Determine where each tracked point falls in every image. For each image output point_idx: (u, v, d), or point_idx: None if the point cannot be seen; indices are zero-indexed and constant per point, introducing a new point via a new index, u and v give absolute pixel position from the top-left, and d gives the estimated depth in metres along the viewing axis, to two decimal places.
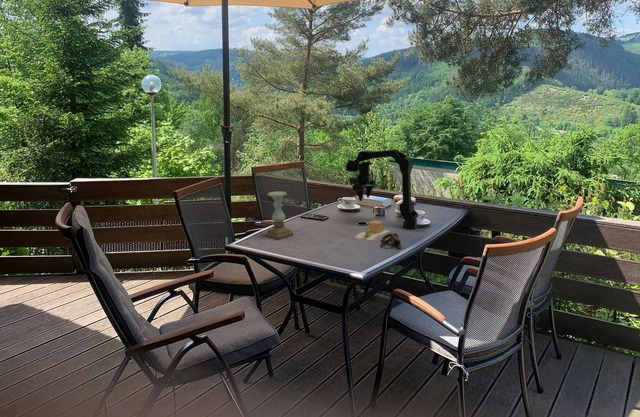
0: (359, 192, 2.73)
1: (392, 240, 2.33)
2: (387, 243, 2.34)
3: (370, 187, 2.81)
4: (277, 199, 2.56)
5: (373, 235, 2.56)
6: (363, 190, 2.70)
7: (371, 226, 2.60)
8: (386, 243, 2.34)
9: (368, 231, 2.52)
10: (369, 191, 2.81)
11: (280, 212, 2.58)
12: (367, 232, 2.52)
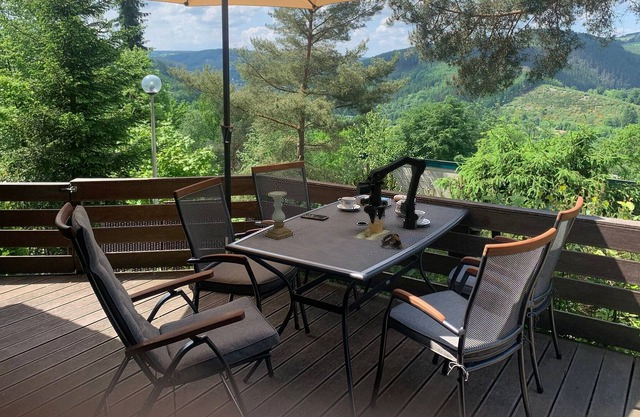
0: (371, 214, 2.55)
1: (393, 240, 2.33)
2: (388, 243, 2.33)
3: (382, 208, 2.63)
4: (277, 199, 2.56)
5: (373, 235, 2.56)
6: (375, 212, 2.52)
7: (371, 226, 2.60)
8: (387, 243, 2.33)
9: (368, 231, 2.52)
10: (381, 212, 2.64)
11: (280, 212, 2.58)
12: (367, 232, 2.52)
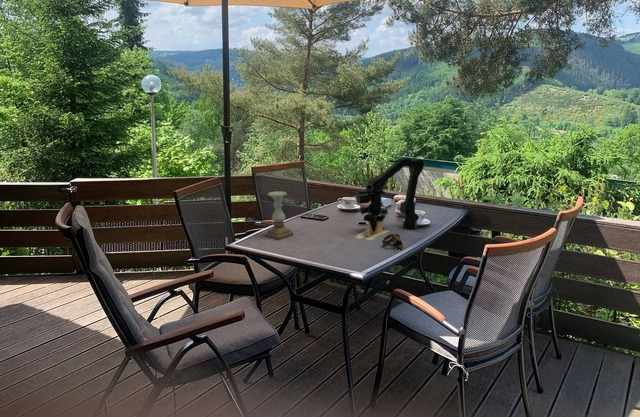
0: (372, 222, 2.58)
1: (394, 240, 2.33)
2: (389, 243, 2.33)
3: (381, 217, 2.63)
4: (277, 199, 2.56)
5: (373, 235, 2.56)
6: (376, 220, 2.55)
7: None
8: (388, 243, 2.33)
9: (368, 231, 2.52)
10: None
11: (280, 212, 2.58)
12: (367, 232, 2.52)
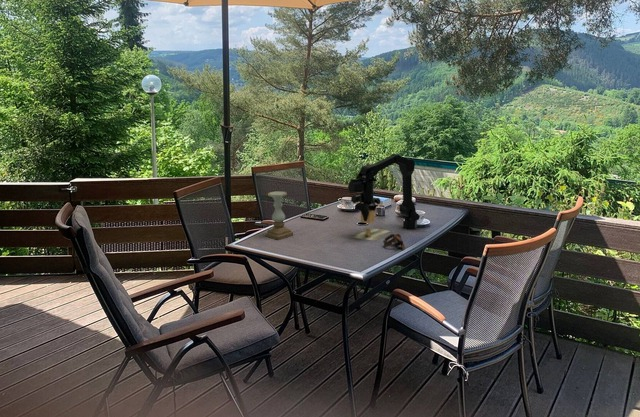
0: (364, 211, 2.48)
1: (395, 241, 2.32)
2: (390, 244, 2.32)
3: (373, 207, 2.53)
4: (277, 199, 2.56)
5: (373, 235, 2.56)
6: (368, 209, 2.45)
7: None
8: (389, 244, 2.33)
9: (368, 231, 2.52)
10: None
11: (280, 212, 2.58)
12: (367, 232, 2.52)
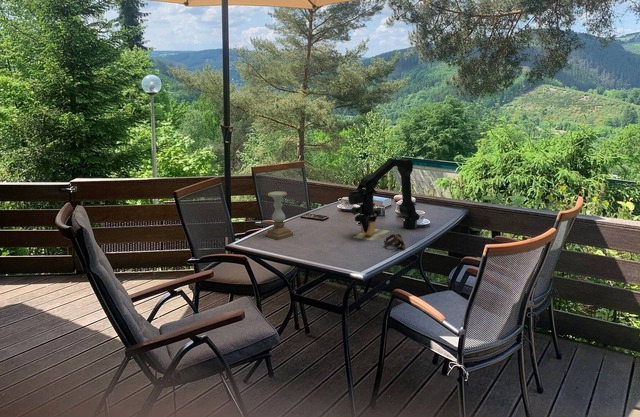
0: (364, 223, 2.49)
1: (396, 241, 2.32)
2: (391, 244, 2.32)
3: (373, 218, 2.54)
4: (277, 199, 2.56)
5: (373, 235, 2.56)
6: (368, 221, 2.46)
7: None
8: (390, 244, 2.32)
9: None
10: None
11: (280, 212, 2.58)
12: None
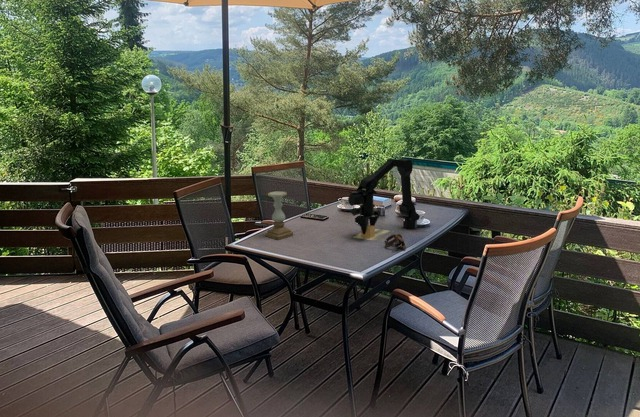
0: (362, 225, 2.48)
1: (396, 241, 2.32)
2: (391, 244, 2.32)
3: (374, 218, 2.56)
4: (277, 199, 2.56)
5: None
6: (367, 223, 2.45)
7: None
8: (390, 244, 2.32)
9: None
10: (373, 222, 2.56)
11: (280, 212, 2.58)
12: None
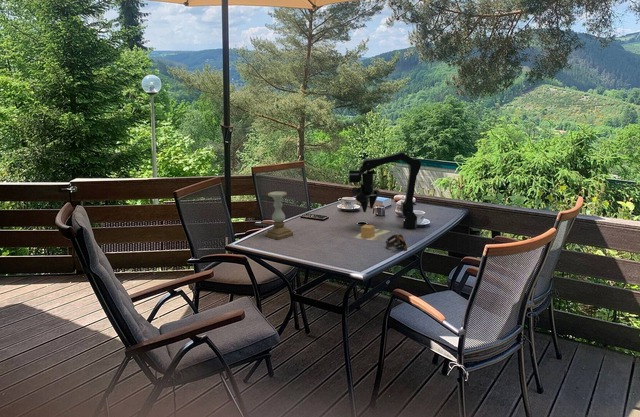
0: (363, 203, 2.60)
1: (398, 241, 2.31)
2: (393, 244, 2.31)
3: (374, 197, 2.68)
4: (277, 199, 2.56)
5: None
6: (367, 201, 2.57)
7: (363, 231, 2.52)
8: (392, 244, 2.31)
9: None
10: (373, 201, 2.68)
11: (280, 212, 2.58)
12: None
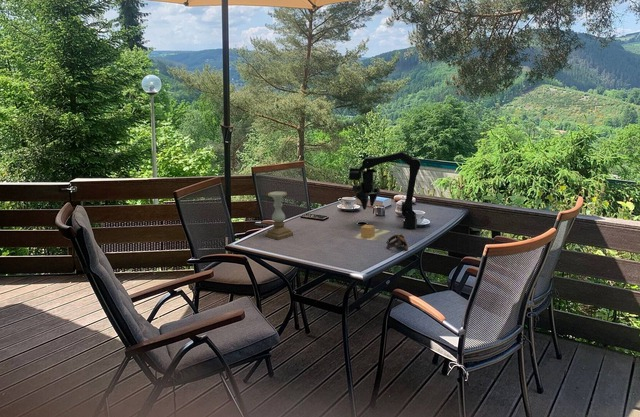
0: (363, 200, 2.64)
1: (399, 242, 2.31)
2: (394, 245, 2.31)
3: (374, 195, 2.72)
4: (277, 199, 2.56)
5: None
6: (367, 198, 2.61)
7: (363, 231, 2.52)
8: (393, 245, 2.31)
9: None
10: (373, 199, 2.72)
11: (280, 212, 2.58)
12: None
